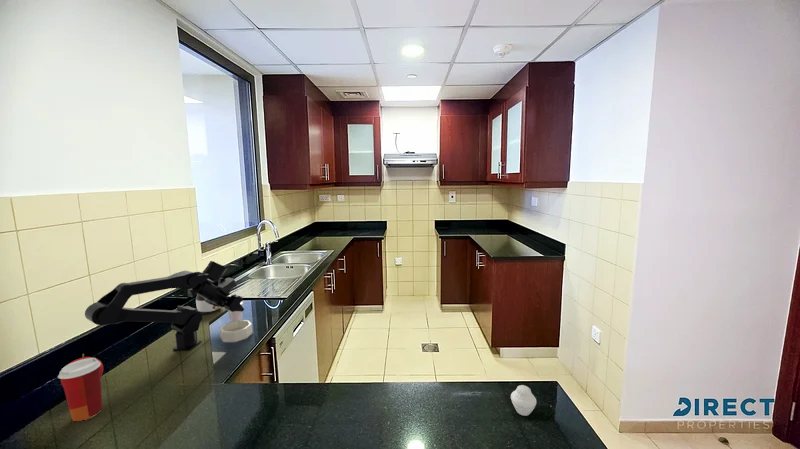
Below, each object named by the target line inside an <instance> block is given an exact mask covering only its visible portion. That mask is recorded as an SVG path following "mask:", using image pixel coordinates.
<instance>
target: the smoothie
mask: <svg viewBox="0 0 800 449" xmlns="http://www.w3.org/2000/svg"><path fill="white" fill-rule="evenodd" d="M234 294H235V295H237V294H236V293H234ZM240 304H241V305H242V307H243V306H244V302H243V301H241V303H240ZM243 308H244V307H243ZM227 312H228V318H229V320H230V322H233V321H237V320H243V311H234V312H231V311H228V310H227Z"/></svg>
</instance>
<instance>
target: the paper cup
mask: <svg viewBox="0 0 800 449" xmlns="http://www.w3.org/2000/svg"><path fill="white" fill-rule="evenodd" d="M97 359H98V358H96V357H93V358H86V359H82V360H78V361H75V362H73V363H71V362H69V363H70V364H69V363H68V364H66V365H65V366H64V367H63V368H61V370H60V371H59V374H58V375H57V378H58V379H60V381H61V380H62V384H63V386H62V388H63V391H64V395H65V398H66V401H67V402H66V403H67V407H68V409H69V413H70V417H71V419H72V421H73V422H74V421H81V420H85V419H88V418H90V417H92V416H93V415H95V414H97V413H98V412H99V411H100V410H101V409H102V410H103V398H102V396H103V395H102V381H101V378H100V365H101V362H102V361H101V362H99V361H98V360H99V359H98V360H97ZM62 384H61V385H62Z"/></svg>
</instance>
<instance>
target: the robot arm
mask: <svg viewBox="0 0 800 449" xmlns="http://www.w3.org/2000/svg"><path fill="white" fill-rule="evenodd" d="M227 270H228V268H227V267H225V265H223V264H220V263H218V262H215V260H214V261H213V260H210V261H209V262H208V264H207V266H206V267H205V268H204V269H203V271H201V272H200V271H189V270H181V271H179V272H175V273H173V274H171V275H169V276H163V277H159V278H152V279H146V280H145V279H143V280H138V281H131V282H121V283H119V284H118V285H116V286H115V287H114V288H113V289H112V290H110V291H108V293H106V294H105V295H103V296H102V297H101V298H100V299H98V300H96V301H95V302H93V303H92V304H90V305H89V306H87V308H86V309H85V312H84V317H85V318H86V319H87V320H88V321H89V322H91V323H93V324H95V325H97V326H109V325H117V324H120V323H123V322H145V323H147V322H149V323H171V325H170V328H171V329H172V330H173V331H175V332H176V333H174V334H175V344H176V346H174V347H173V348H172V350H173V351H190V350H192V349H193V348H195V347H196V346H198V345H199V344H200V343H201V342H202V340H201V339H198V333H197V331H199V328H200V326H201V325H200V324H201V322H202V320H203V314H202V313H201V312H199V311H198V310H197V308H194V307H191V306H189V305H186V306H182V305H177V308H176V309H172V310H168V309H153V308H152V309H150V308H136V307H135V308H134V307H131V308H130V307H125V305H126V303H127V302H128V300H129V299H130V298H131V297H132V296H136V295H142V294H148V293H152V292H153V293H154V292H157V291H164V290H170V289H182V290H183V289H184V290H185V289H187V296H188V297H191V298H195V296H197V295H200V296H202V297H203V298H204V299H205V302H206V303H208V304H211V305H212V304H213V305H214V306H217V307H221V308H224V309H225V310H227V312H228V311H231V312H234V311H242V312H245V308H244V307H242V305H241V304H240V303H241V302H243V300H244V299H243V297H242V296H241V295H238V294H236V293H234V294H232V295H230V294H231V291H232V290H233V289H235V288H236V287H237V286H238V283H237V282H236V280H235V279H234V278H232V277H226V278H224V277H222V276H223V275H224V274H225V272H226V271H227ZM215 282H216V283H217V282H218V283H217V284H218V285H215V284H213V283H215ZM235 294H236V295H235ZM229 295H230V296H229Z"/></svg>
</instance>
